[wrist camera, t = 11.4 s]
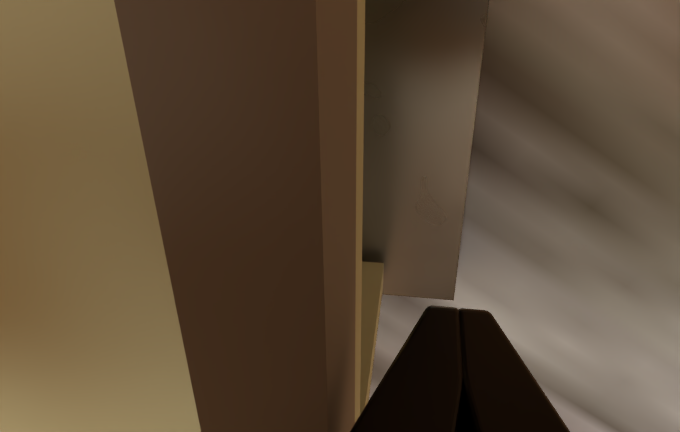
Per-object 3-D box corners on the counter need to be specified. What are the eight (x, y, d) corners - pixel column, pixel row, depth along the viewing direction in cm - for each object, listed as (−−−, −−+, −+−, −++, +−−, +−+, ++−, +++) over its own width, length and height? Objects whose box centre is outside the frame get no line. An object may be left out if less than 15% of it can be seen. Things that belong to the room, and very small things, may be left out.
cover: (383, 287, 17) (335, 660, 10) (128, 266, 18) (-90, 595, 10) (399, -153, 11) (313, -41, 4) (25, -154, 12) (-591, -60, 5)
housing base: (453, 272, 18) (454, 394, 14) (-191, 221, 20) (-327, 315, 17) (506, -191, 12) (531, -179, 8) (-422, -185, 14) (-714, -174, 11)
